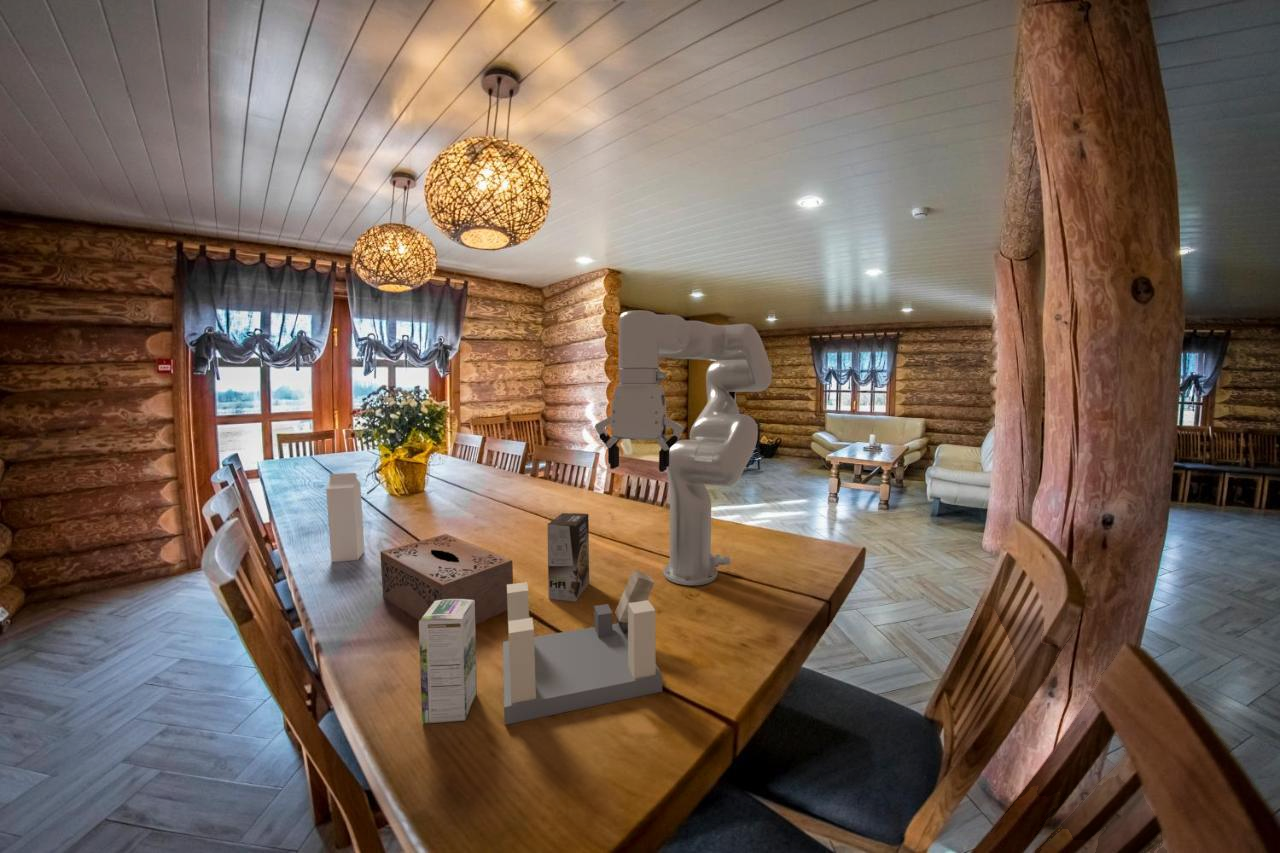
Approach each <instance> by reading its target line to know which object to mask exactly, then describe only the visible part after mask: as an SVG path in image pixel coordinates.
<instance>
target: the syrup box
mask: <svg viewBox="0 0 1280 853" xmlns="http://www.w3.org/2000/svg"><path fill="white" fill-rule="evenodd" d="M418 635H419V636H418V637H419V640H418V642H419V669H420V700H421V722H422V723H423V724H434V723H435V724H437V723H451V722H460V721H461V722H462V721H463V722H464V721H466V720H467V719H468V718H467V717H468V715H469V713H470V710H471V707H472V704H473V702H474V701H475V697H476V695H477V694H478V692H477V690H478V689H477V688H478V686H477V684H478V683H477V645H476V643H477V641H476V640H477V638H476V625H475V601H474V600H469V599H444V600H437V601H434V603H433V604H432V605H431V607H430V608H429V609H428V611H427V612H426V613H425V614H424V616H423V617H422V618H421V620H420V621H419V620H418Z"/></svg>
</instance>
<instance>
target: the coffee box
mask: <svg viewBox="0 0 1280 853" xmlns="http://www.w3.org/2000/svg"><path fill="white" fill-rule="evenodd" d="M589 516H590V515H589V513H575V512H574V513H571V512H570V513H569V512H568V513H566V512H562V513H560V514H559V515H558V516H557V517H555V518H554V519H553V520H551V521H550V522H548V523H547V565H548V566H547V569H548V570H547V572H548V573H547V574H548V575H547V577H548V578H547V579H548V581H547V582H548V599H549V600H557V601H565V602H566V601H567V602H573V603H574V602H577V601H578V600H579V598H580V597H581V596H582V594H583V593H584V591H585V590H586V588H588V586H589V585H590V543H589V542H590V541H589V540H590V537H589V535H590V534H589V532H590V531H589V530H590V529H589V528H590V526H589V522H590V521H589Z"/></svg>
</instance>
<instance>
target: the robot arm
mask: <svg viewBox="0 0 1280 853" xmlns="http://www.w3.org/2000/svg"><path fill="white" fill-rule="evenodd" d="M617 325H618V327H617V328H618V386H615V388H614V391H613V397H612V405H611V413H610V414H611V415H610V416H609V417H607V418H605V419H603V420H602V421H599V422H598V423H596V424H595V425H594V428H595V430H596V432H597V434H598V435H599V439H600V440H601V441H602V442H603V444H605V447H606V448H607V452H608V455H607V456H608V458H607V459H608V460H607V461H608V464H609V469H610V470H614V469H616V468H618V467H619V466H620V447H619V445H618V444H619V442H620V441H621V440H642V441H645V440H646V441H656V443H657V444H658V445H659V447H660V450H659V451H658V471H659V472H661V473H662V472H663V473H664V472H665V471H666V474H667V475H666V476H667V479H668V487H669V489H668V490H669V562H668V563H666V564H665V565H664V566H663V569H662V575H663V577H664V578H665V579H666V580H667V581H669V582H672V583H675V584H676V585H681V586H703V585H708V584H710V583H712V582H714V581H715V580H716V579H717V578H718V569H717V568H718V567H719V566H726V565H731V558H730V556H729V555H722V556H721V555H720V554H719V553H715V554H712V499H711V496H710V494H709V491H708V489H707V487H706V486H705V485H711V486H716V487H717V486H718V487H720V486H721V487H731V486H733V485H735V484H736V483H738V481H739V480H740V478H741V477H742V475H743V473H744V471H745V469H746V467H747V465H748V463H749V461H750V459H751V457H752V455H753V453H754V451H755V448H756V446H757V441H758V434H759V432H758V431H759V430H758V429H759V428H758V425H757V423H756V421H755V418H753V417H752V416H750V415H748V414H744V413H739V412H740V409H739V406H738V404H737V402H736V400H735V399H734V398H733V397H732V395H731V394H730V392H731V393H732V392H735V393H736V392H737V393H739V392H745V393H746V392H748V393H750V392H751V393H758V392H763V391H765V390H767V389H768V388H769V387H770V385H771V383H772V378H773V371H772V366H771V362H770V360H769V357H768V353H767V350H766V349H765V345H764V343H763V340H762V338H761V337H760V334H759V332H758V331H757V329H756V328H755V326H753V325H752V324H750V323H736V324H724V325H722V324H720V325H719V324H713V323H708V322H705V321H704V322H703V321H702V320H701V321H699V320H686V319H684V317H681V316H679V315H677V314H657V313H655V312H653V311H649V310H627V311H624V312H622V313H621V314H620V315H619V318H618V324H617ZM660 358H671V359H678V360H679V359H680V360H701V361H702V360H704V361H714V362H712V363H710V364H709V366H708V367H707V370H706V373H705V383H706V384H705V387H706V399H707V403H706V404H705V406H704V408H703V409H702V410H701V412H700V414H699V415H698V417H697V418H696V419H695V421H694V423H693V424H692V426H691V428H690V431H689V439H680V438H681V437H682V434H683V432H684V430H685V427H684V426H683V425H682V424H680V423H678V422H676V421H674V420H672V419H671V418H669V417H668V416H667V415H668V414H667V404H666V396H665V391H664V386H659V384H660V383H661V381H665V380H666V379H667V373H666V372H662V371H661V370H660V367H659V365H660V364H659V363H660V362H659V360H660ZM608 426H610V433H611V436H610V435H609V433H607V431H606V428H607V427H608ZM668 428H670V429H672V430H673V434H672V436H671V437H670V438H669V439H668V437H666V436H667V433H668Z"/></svg>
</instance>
